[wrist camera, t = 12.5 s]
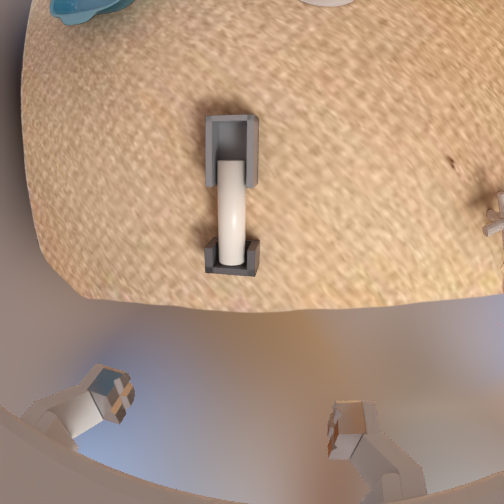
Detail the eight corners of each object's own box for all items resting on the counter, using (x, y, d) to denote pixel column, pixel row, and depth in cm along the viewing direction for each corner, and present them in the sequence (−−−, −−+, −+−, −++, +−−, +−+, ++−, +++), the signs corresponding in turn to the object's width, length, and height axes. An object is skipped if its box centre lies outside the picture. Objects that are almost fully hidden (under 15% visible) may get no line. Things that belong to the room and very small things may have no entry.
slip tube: (221, 159, 42) (214, 161, 38) (248, 159, 42) (243, 161, 38) (222, 254, 47) (216, 264, 44) (247, 256, 47) (242, 266, 43)
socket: (213, 237, 48) (204, 247, 43) (259, 240, 47) (255, 251, 42) (214, 260, 49) (205, 272, 45) (259, 263, 48) (255, 276, 44)
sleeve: (215, 118, 41) (205, 115, 37) (258, 118, 40) (254, 114, 36) (215, 182, 45) (205, 187, 40) (257, 183, 44) (252, 188, 39)
